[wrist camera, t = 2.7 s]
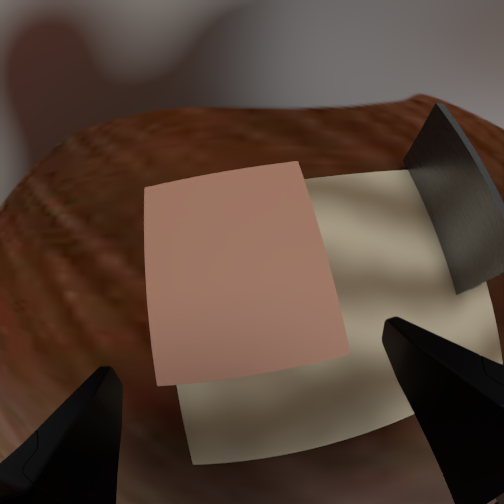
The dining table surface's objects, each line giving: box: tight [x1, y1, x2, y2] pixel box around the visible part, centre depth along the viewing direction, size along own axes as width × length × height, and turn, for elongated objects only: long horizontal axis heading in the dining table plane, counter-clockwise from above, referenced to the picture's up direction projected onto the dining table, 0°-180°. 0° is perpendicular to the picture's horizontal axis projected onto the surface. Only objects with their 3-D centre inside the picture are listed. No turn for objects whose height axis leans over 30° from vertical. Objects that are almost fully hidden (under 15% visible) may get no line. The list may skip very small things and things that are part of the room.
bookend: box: [403, 103, 504, 295], centre depth 16 cm, size 12×3×7 cm, turn 10°
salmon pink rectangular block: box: [144, 161, 350, 386], centre depth 12 cm, size 6×5×10 cm
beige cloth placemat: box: [177, 170, 503, 465], centre depth 18 cm, size 18×24×1 cm
